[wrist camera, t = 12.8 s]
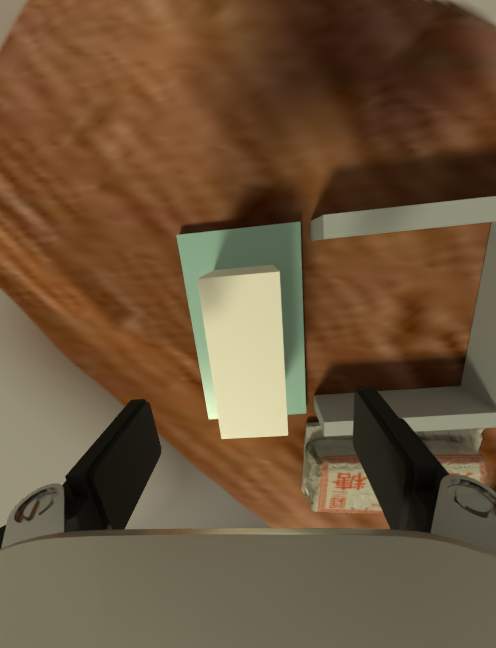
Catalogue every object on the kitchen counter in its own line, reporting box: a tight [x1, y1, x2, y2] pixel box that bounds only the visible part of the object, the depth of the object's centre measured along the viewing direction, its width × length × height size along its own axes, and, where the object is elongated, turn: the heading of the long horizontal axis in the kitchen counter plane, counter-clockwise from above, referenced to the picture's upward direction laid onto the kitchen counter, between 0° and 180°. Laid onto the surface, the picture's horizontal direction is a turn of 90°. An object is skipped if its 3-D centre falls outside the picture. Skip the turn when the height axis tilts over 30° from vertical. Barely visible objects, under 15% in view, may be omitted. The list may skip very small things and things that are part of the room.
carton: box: [197, 265, 288, 439], centre depth 19 cm, size 5×12×6 cm, turn 5°
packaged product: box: [302, 422, 487, 514], centre depth 25 cm, size 18×5×10 cm
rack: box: [310, 196, 496, 437], centre depth 20 cm, size 16×18×4 cm
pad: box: [176, 222, 306, 419], centre depth 22 cm, size 10×18×1 cm, turn 6°
